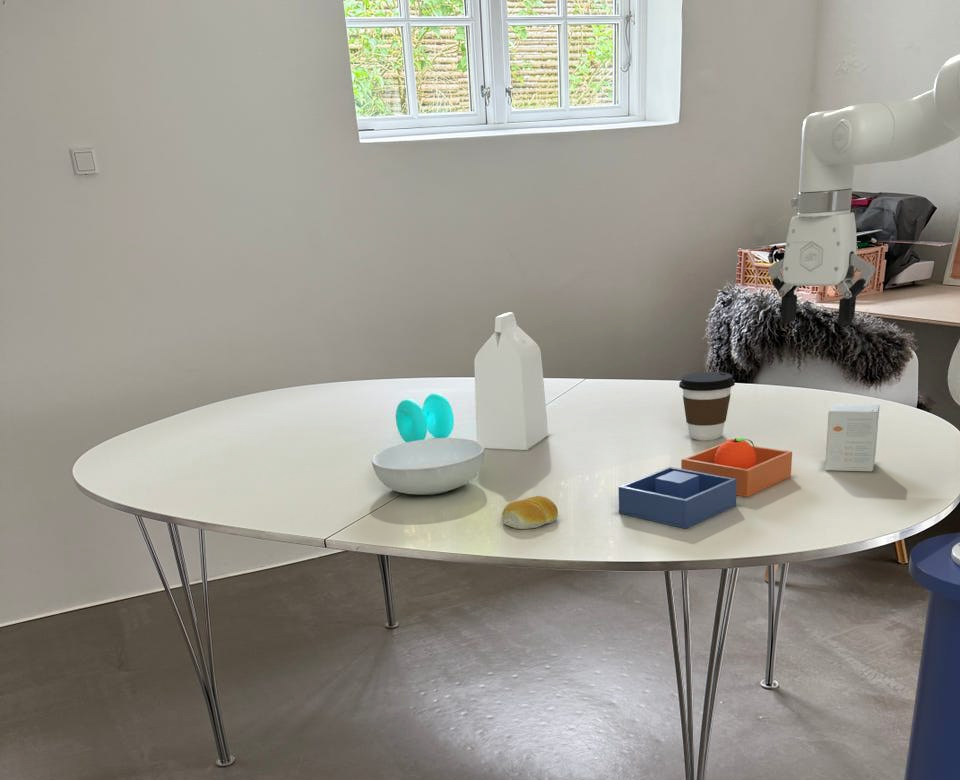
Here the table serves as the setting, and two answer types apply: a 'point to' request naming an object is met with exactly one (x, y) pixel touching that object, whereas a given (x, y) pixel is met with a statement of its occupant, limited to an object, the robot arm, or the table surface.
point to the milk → (509, 389)
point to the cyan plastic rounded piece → (424, 418)
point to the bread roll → (530, 513)
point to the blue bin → (677, 499)
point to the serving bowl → (429, 465)
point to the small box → (852, 437)
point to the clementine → (736, 454)
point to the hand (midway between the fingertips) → (816, 323)
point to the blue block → (677, 484)
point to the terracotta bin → (762, 475)
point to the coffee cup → (706, 403)
